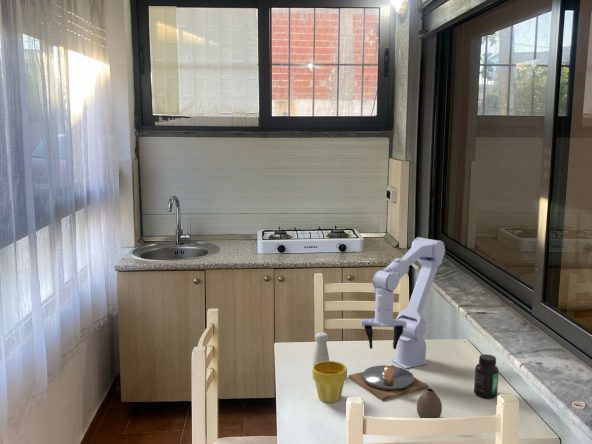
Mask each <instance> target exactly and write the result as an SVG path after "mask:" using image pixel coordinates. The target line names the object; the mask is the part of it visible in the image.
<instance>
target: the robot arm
mask: <svg viewBox="0 0 592 444" xmlns="http://www.w3.org/2000/svg"><path fill="white" fill-rule="evenodd" d="M445 247H446V246H445V243H444V242H443V241H442V240H437V239H432V238H431V239H430V238H425V237H421V236H418V237H416V238H415V239H414V240H413V241H412V242H411V247H410V248H409V250H407V252H406V253H405V254H404V255H403V256H402V257H401V258H399V257H396V258H394V259H393V261H391V263H389V264H388V265H387V266H386V267H385V268H384V269H382V270H381V269H380V270H378V271H376V272H375V273H374V274H373V277H372V279H371V283H372V286H373V292H374V293H375V303H374V305H375V306H374V309H375V310H374V318H368V319H366V318H365V319H360V327H361V328H364V331H365V334H366V336H367V338H368V344H369V346H368V347H369V349H371V350H372V349H373V331H374V330H373V327H379V328H381V327H382V328H392V331H393V339H392V340H393V341H392V349H393V350H397V353H396V357H394V358H392V359H391V362H393V363H395V364H397V365H398V366H400V367H401V368H403V369H410V368H414V367H418V366H423V365H427V364H428V362H427V360H426V356H427V344H426V340H425V338H424V337H425V333H426V326H427V319H426V317H425V316H424V315H423V310H424V309H425V305H426V303H427V300H428V297H429V294H430V291H431V288H432V285H433V282H434V279H435V277H436V274H437V271H438V267H440V266H441V265H442V263H443V262H442V261H443V259H444V257H445V254H446V248H445ZM415 262H418V263H419V264H420V265H421V268H420V270H419V274H418V276H417V280H416V282H415V285H414V288H413V291H412V293H411V296H410V299H409V301H408V305H407V307H406V308H405V309H403V310H401V311H399V312H398V315H397V316H396V318H395V319H394V318H393V317H394V298H395V297H394V296H395V295H394V294H395V290H396V289H397V287H398V285H399V283H400V280H401V279H402V278H403V277H404V276H405V275H407V273H408V272H409V270H410V266H411V265H413V264H414V263H415Z"/></svg>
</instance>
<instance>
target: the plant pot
mask: <svg viewBox="0 0 592 444" xmlns="http://www.w3.org/2000/svg"><path fill="white" fill-rule="evenodd" d="M347 378H348V368H347V365H346V364H344V363H342V362H340V361H335V360H329V361H322V362H318V363H316V364H315V365H314V366H313V365H312V379H313V381H314V382H315V386H316V392H317V397H318V399H319V400H320V401H321V402H324V403H329V404H330V403H331V404H332V403H335V402H336V403H337V402H339V401H340V400H341V398H342V394H343V390H344V389H343V388H344V385H345V381H346V380H347Z"/></svg>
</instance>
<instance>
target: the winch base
mask: <svg viewBox="0 0 592 444" xmlns="http://www.w3.org/2000/svg"><path fill="white" fill-rule="evenodd" d="M390 366H395V367H397V366H396V365H394V364H392V365H390ZM363 372H364V371H361V372H356V373H351V374H349V375H348V379H349V380H350V381H352V382H354V383H355V384H357V385H358V386H360V387H361V388H363V389H364V390H365V391H367V392H369V394H371V395H373V396H374V397H376V398H377V399H378V400H380V401H381V402H383V401H386V400H390V399H394V398H398V397H402V396H407V395H409V394H414V393H417V392H421V391H425V390H426V389H427V388H430V385H428V384H426V382H423V381H422V380H420V379H418V378H416V377H414V382H413V384H412V385H411V386H410V387H408V388H406V389H402V390H383V389H378V388H375V387H372V386H370V385H368V384H367V383H365V382H364V380H363Z"/></svg>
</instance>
